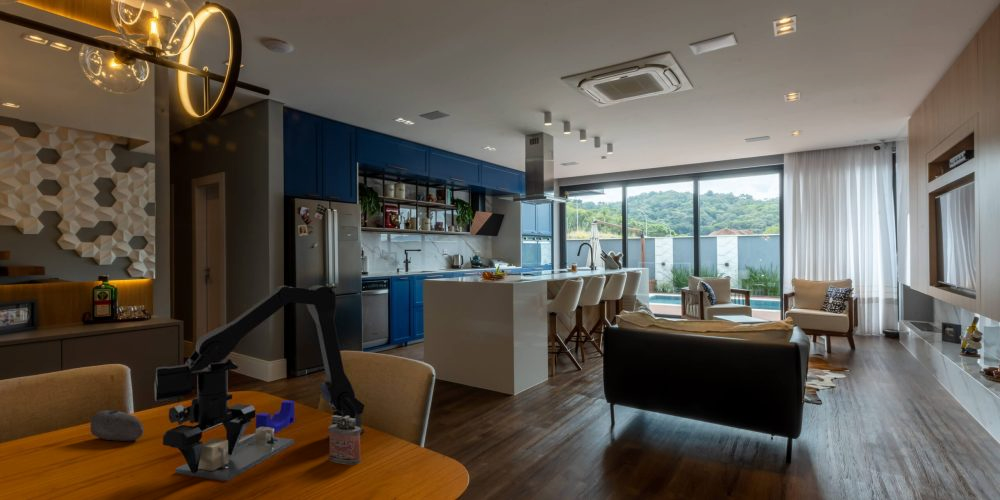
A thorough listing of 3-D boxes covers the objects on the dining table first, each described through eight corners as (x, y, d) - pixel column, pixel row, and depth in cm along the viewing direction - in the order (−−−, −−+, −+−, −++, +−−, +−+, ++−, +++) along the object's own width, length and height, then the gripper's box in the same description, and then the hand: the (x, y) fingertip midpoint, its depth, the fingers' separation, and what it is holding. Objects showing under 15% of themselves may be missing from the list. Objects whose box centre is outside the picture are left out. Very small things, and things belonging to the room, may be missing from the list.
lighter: (364, 459, 107) (363, 415, 107) (355, 465, 104) (354, 420, 104) (335, 454, 110) (334, 412, 110) (325, 460, 107) (325, 417, 107)
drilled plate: (293, 443, 117) (293, 427, 117) (227, 481, 98) (227, 461, 98) (248, 438, 121) (248, 422, 121) (175, 473, 101) (175, 454, 101)
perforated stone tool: (151, 438, 121) (151, 411, 121) (130, 446, 116) (130, 418, 116) (109, 432, 125) (109, 407, 125) (87, 440, 120) (87, 413, 120)
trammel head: (231, 463, 103) (231, 440, 103) (216, 471, 100) (216, 448, 100) (213, 460, 105) (213, 438, 105) (197, 468, 101) (197, 445, 101)
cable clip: (280, 421, 133) (279, 400, 133) (294, 422, 132) (294, 401, 132) (250, 437, 121) (250, 414, 121) (266, 438, 120) (266, 415, 121)
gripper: (219, 378, 114) (219, 442, 113) (142, 402, 96) (142, 478, 96) (257, 381, 111) (257, 447, 110) (184, 406, 93) (184, 485, 93)
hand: (213, 463), depth 102 cm, fingers open, 9 cm apart
